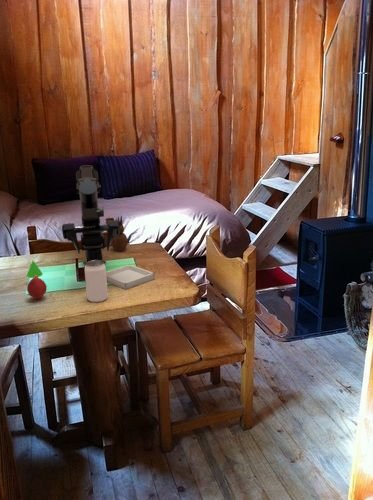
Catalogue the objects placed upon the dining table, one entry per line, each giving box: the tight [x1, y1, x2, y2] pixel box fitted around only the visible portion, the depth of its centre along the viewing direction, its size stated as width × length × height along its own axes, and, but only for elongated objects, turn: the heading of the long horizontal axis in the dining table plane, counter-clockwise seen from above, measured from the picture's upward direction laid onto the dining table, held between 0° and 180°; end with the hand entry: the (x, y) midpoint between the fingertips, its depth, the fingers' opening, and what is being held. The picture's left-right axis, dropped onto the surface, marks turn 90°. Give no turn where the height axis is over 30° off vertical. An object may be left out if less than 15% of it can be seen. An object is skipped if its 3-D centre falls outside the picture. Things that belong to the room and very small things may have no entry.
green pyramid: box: [25, 260, 44, 279], centre depth 167 cm, size 6×6×6 cm
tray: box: [106, 263, 156, 291], centre depth 161 cm, size 14×13×2 cm
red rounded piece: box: [26, 275, 48, 300], centre depth 146 cm, size 6×6×8 cm
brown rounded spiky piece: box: [110, 215, 128, 252], centre depth 192 cm, size 7×6×15 cm
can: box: [84, 260, 109, 303], centre depth 144 cm, size 6×6×12 cm
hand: (93, 251), depth 149 cm, fingers open, 9 cm apart
